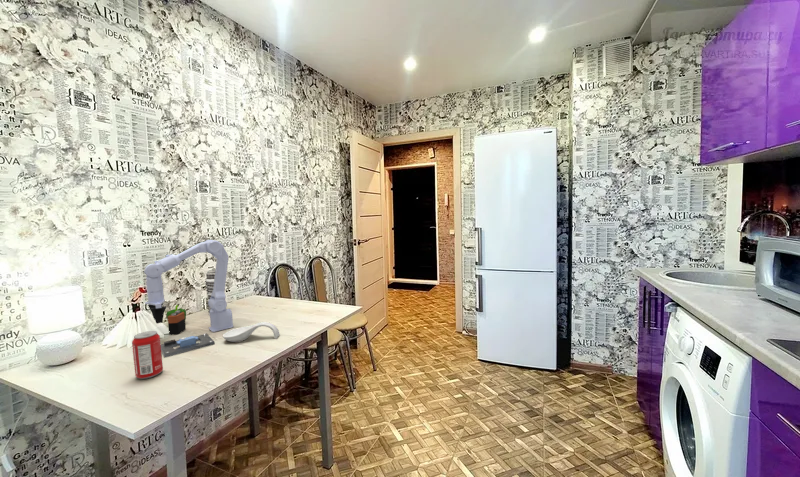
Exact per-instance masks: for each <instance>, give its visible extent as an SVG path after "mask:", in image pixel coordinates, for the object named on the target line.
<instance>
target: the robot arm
mask: <svg viewBox="0 0 800 477" xmlns="http://www.w3.org/2000/svg"><path fill="white" fill-rule="evenodd" d="M199 253H201V254H202V253H205V254H206V253H208V254H211V255H212V256H213V257H214V258H215V259H216V263H215V269H214V270H215V278H214V287H213V292H212V294H211V298H210V299H209V301H208V300H207V306H208V305H209V307H211V310H210V315H209V317H210V318H209V320H210V326H208V329H209V330H210V332H212V333H214V332H218V331H224V330H227V329H231V328H234V320H233V312H232V309H231V308H227V306H228V302H227V301H226V292H225V290H226V289H225V288H226V281H227V272H228V265H229V254H228V253H227V250H226V249H225V246H224V244H223V243H221V242H220V241H219V240H215V239H206V240H205V241H201V242H199V243H196V244H195V245H193V246H190V247H189V248H187V249H185V250H184V251H182V252H180V253H178V254H172V253H170V254H166V255H165V257H163V258H161V259H158V260H154V261H153V262H154V263H150V264H148V265H146V266H145V268H144V270H143V272H144V274H145V275H146V277H145V279H146V281H145V282H146V292H147V293H146V294H147V301H145V302H144V305H147V307H148V308H149V310H150V312H151V314H152V318H153V320H154V321H155V323H156V324H162V323H163V320H164V314H165V312H166V309H167V306H165V305H164V306H163V304H164V303H165V302H166V301H165V295H164V283H163V279H162V274H163V273H166V272H168V271H170V270H172V269H174V268H177V267H178V266H180V263H181V262H182V261H184V260H185V259H188V258H189V257H191V256H194V255H196V254H199ZM209 307H208V308H209Z"/></svg>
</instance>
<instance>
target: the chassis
mask: <svg viewBox="0 0 800 477" xmlns="http://www.w3.org/2000/svg"><path fill="white" fill-rule="evenodd" d="M194 336H195V337H196V336H197V337H198V339H197V340H196V343H195V344H192V345H188V346H184V347H180V344H177V342H176V341H179V339H178V340H176V339H171V340H167V341H163V343H161V353H162V356H163V358H168V357H172V356H176V355H180V354H184V353H187V352H190V351H194V350H199V349H202V348H206V347H210V346H213V345H215V341H214V339H212V338H211V336H210V335H209V334H208V333H203V334H198V335H194ZM175 347H177V348H175Z"/></svg>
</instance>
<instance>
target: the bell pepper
mask: <svg viewBox="0 0 800 477" xmlns="http://www.w3.org/2000/svg"><path fill="white" fill-rule="evenodd" d="M175 311H180V312H184V316H185V320H186V319H187V318H186V317H187V310H186V309H184V308H181V307H180V308H179V305H178V304H176V305H175V307H174V308H173V309H171V310H169V311H166V319H167V320H168V316H169V315H171V314H172V313H175Z"/></svg>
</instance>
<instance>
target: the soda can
mask: <svg viewBox="0 0 800 477" xmlns="http://www.w3.org/2000/svg"><path fill="white" fill-rule="evenodd" d="M161 344H162V343H161V336H160V335H159V334H158V331H156V330H150V331H144V332H139V333H137V334H134V335H133V339H132V340H131V347H132V356H133V365H134V376H135V378H136V379H139V380H140V379H141V380H146V379H150V378H154V377H156V376H158V375H159V374H161V373H162V372H163V370H164V366H163V365H164V362H163V353H162V351H161Z"/></svg>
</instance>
